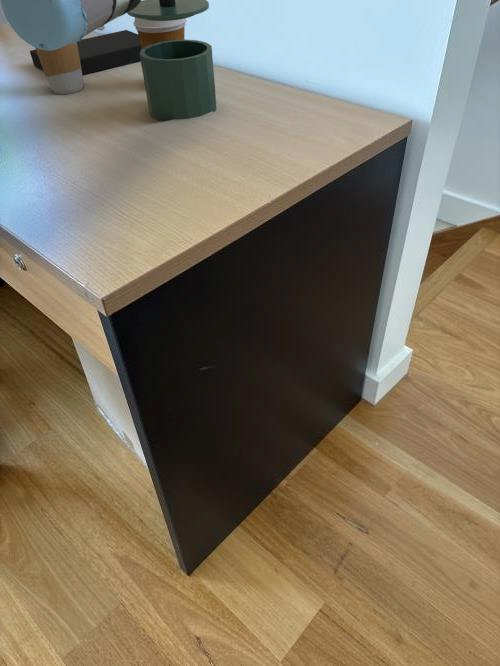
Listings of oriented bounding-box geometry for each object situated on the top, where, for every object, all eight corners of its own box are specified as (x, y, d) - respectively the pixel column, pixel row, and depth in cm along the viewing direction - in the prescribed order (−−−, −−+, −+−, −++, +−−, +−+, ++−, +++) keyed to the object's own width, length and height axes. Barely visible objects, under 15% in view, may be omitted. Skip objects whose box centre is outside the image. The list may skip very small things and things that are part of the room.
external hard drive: (158, 56, 112) (156, 41, 110) (58, 81, 103) (54, 65, 101) (128, 43, 121) (125, 29, 119) (33, 65, 111) (29, 50, 109)
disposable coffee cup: (134, 85, 99) (121, 14, 91) (173, 73, 104) (164, 4, 96) (163, 96, 94) (152, 22, 86) (203, 83, 99) (196, 11, 91)
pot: (142, 105, 91) (131, 46, 85) (202, 93, 95) (196, 36, 88) (162, 127, 84) (152, 65, 77) (226, 113, 87) (222, 52, 80)
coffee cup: (97, 88, 99) (76, -3, 89) (58, 99, 95) (32, 6, 85) (76, 78, 104) (54, -9, 93) (38, 89, 100) (10, -1, 89)
